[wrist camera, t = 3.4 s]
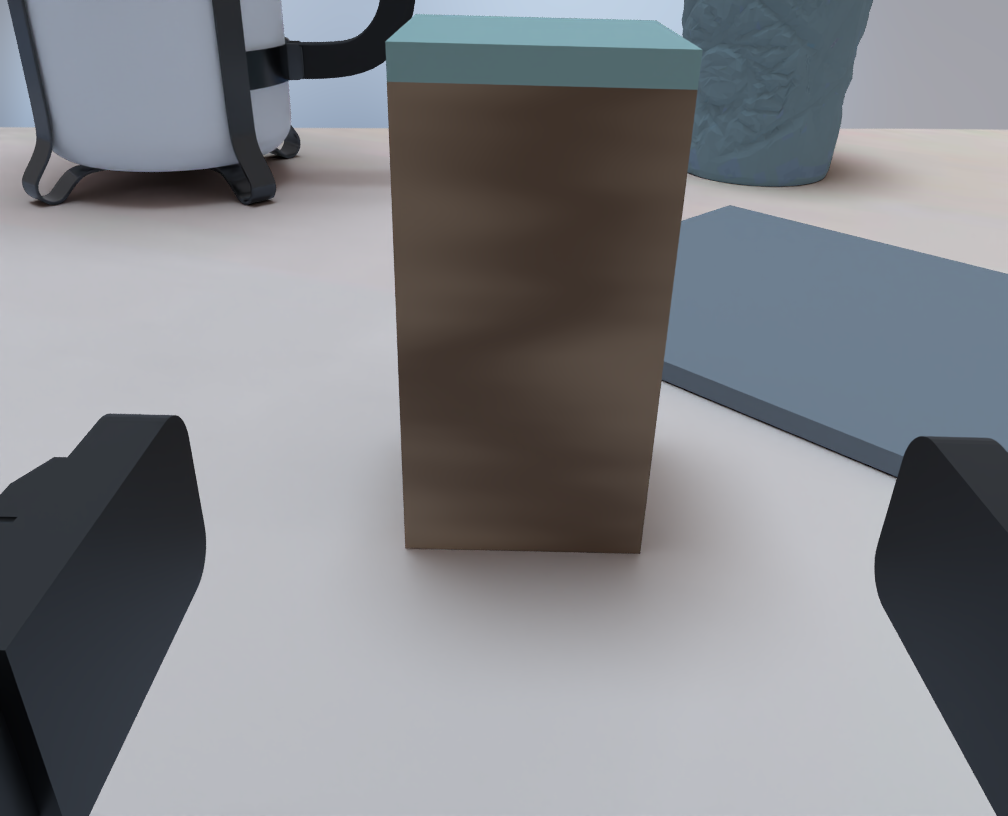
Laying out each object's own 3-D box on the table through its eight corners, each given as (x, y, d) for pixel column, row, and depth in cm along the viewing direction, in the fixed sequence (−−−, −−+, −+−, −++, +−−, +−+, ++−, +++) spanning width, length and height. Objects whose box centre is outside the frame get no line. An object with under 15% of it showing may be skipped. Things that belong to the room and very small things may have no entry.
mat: (477, 303, 31) (477, 287, 30) (728, 217, 41) (729, 205, 40) (1127, 572, 18) (1138, 550, 18) (1257, 354, 28) (1265, 338, 28)
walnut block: (405, 548, 18) (385, 41, 14) (425, 429, 23) (415, 13, 18) (639, 553, 19) (702, 49, 14) (615, 434, 23) (656, 20, 18)
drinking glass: (677, 187, 45) (708, -76, 40) (647, 145, 54) (669, -75, 48) (869, 191, 46) (928, -70, 40) (808, 148, 54) (849, -70, 49)
